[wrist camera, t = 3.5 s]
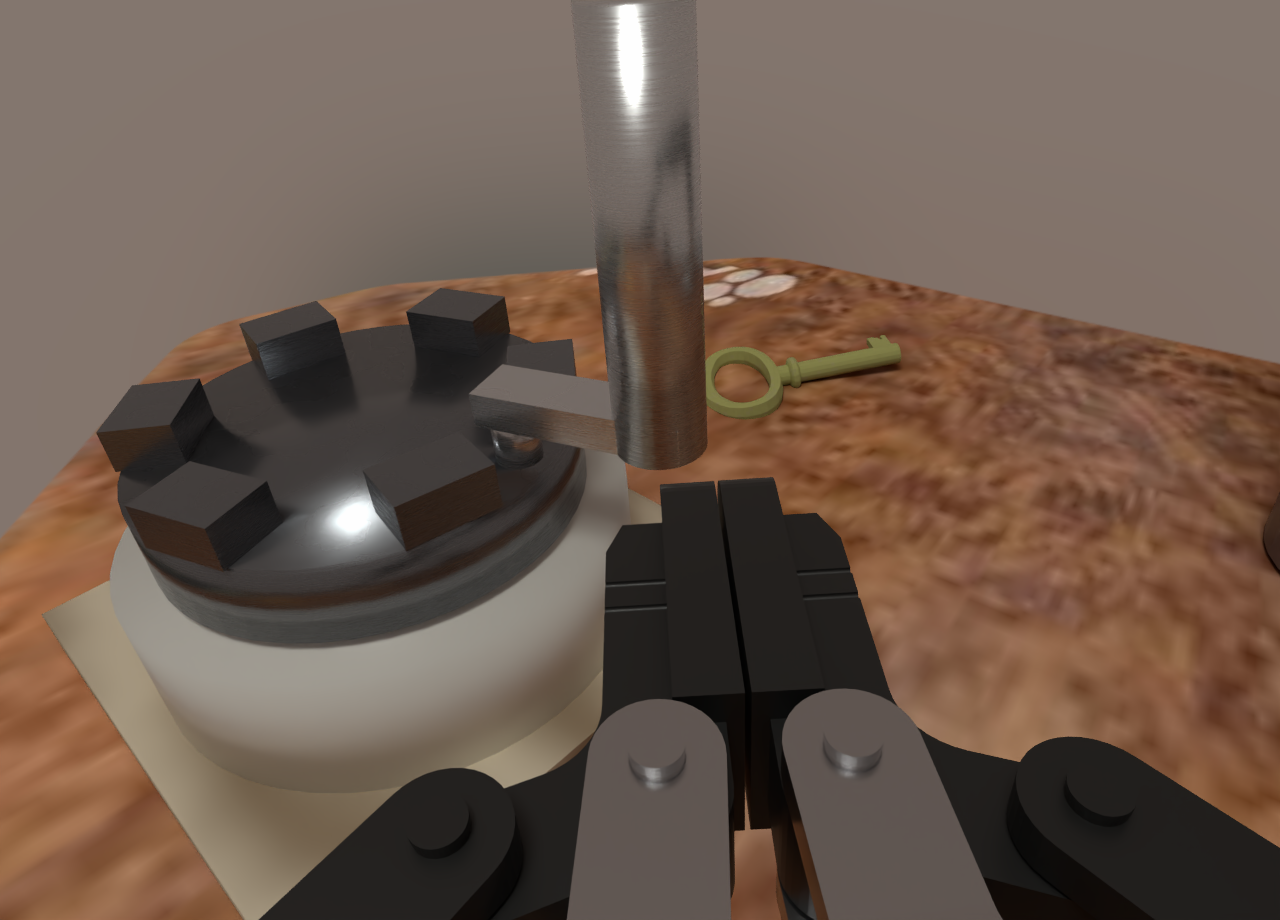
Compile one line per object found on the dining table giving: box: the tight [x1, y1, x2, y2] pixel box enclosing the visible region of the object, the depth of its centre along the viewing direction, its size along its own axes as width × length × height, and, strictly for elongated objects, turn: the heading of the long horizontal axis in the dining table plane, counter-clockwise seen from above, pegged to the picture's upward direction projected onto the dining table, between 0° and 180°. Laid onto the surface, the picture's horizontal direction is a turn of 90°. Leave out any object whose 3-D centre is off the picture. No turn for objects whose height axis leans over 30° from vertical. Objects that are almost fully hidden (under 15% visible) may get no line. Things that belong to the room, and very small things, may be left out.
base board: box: [42, 488, 662, 920], centre depth 37 cm, size 22×22×2 cm
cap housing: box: [110, 449, 631, 793], centre depth 35 cm, size 19×19×5 cm
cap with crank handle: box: [96, 0, 708, 644], centre depth 27 cm, size 16×21×17 cm
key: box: [705, 335, 901, 419], centre depth 53 cm, size 7×12×2 cm, turn 115°
